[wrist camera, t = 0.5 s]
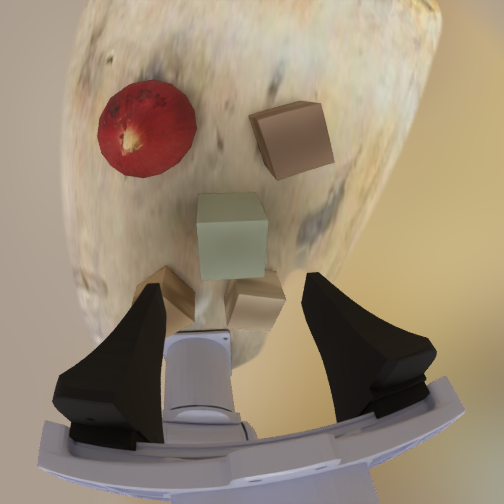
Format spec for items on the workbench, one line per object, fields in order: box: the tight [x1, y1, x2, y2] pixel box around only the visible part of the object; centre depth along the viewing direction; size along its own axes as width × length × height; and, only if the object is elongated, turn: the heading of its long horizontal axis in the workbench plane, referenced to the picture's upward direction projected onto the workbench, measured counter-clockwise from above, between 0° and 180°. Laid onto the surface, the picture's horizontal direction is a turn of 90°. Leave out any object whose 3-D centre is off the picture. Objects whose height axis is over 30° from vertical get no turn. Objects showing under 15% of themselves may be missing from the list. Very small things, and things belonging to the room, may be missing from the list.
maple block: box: [224, 270, 286, 331], centre depth 24 cm, size 4×4×4 cm
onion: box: [97, 80, 197, 178], centre depth 13 cm, size 6×6×8 cm
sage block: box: [196, 192, 269, 281], centre depth 20 cm, size 4×4×5 cm
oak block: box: [131, 266, 195, 339], centre depth 23 cm, size 4×4×4 cm
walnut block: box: [249, 101, 334, 180], centre depth 17 cm, size 4×4×4 cm
